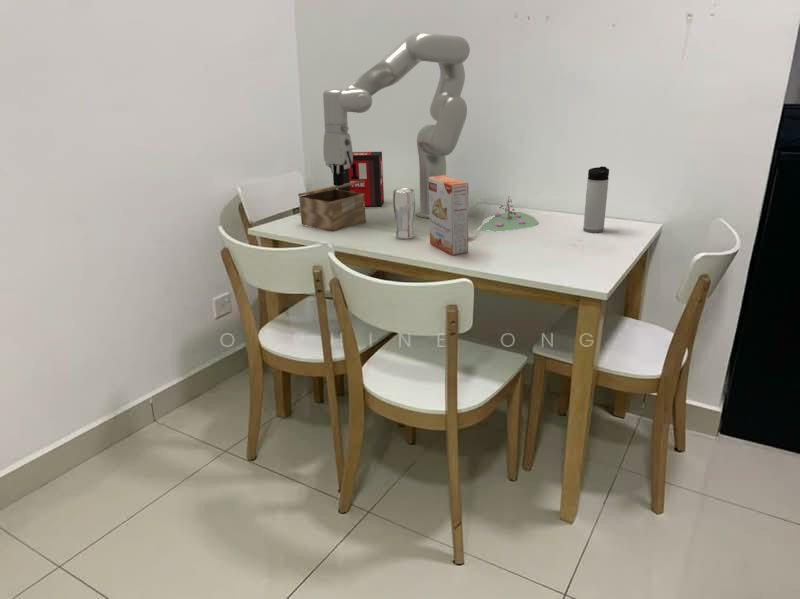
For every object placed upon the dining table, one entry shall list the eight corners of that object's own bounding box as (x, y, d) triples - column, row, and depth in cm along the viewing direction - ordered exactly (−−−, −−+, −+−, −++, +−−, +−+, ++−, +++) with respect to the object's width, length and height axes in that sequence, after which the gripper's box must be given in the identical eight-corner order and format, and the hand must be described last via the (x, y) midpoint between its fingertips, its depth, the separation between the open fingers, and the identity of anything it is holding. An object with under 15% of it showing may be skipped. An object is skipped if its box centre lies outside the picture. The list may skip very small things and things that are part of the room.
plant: (515, 238, 193) (516, 210, 190) (459, 229, 204) (459, 203, 201) (547, 220, 212) (548, 194, 208) (494, 213, 223) (495, 189, 220)
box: (366, 221, 215) (364, 193, 212) (332, 231, 205) (330, 202, 201) (335, 215, 226) (333, 188, 222) (301, 224, 215) (299, 196, 211)
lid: (363, 182, 211) (363, 180, 210) (328, 190, 199) (327, 188, 199) (333, 188, 222) (333, 185, 222) (298, 196, 211) (297, 193, 211)
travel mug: (607, 229, 196) (613, 167, 189) (597, 234, 192) (603, 170, 185) (589, 226, 200) (594, 165, 193) (579, 231, 196) (584, 168, 189)
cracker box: (428, 244, 188) (427, 176, 180) (445, 241, 190) (445, 174, 182) (450, 256, 176) (450, 184, 168) (468, 253, 178) (469, 181, 171)
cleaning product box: (339, 208, 237) (335, 155, 229) (343, 202, 245) (340, 152, 238) (381, 207, 235) (378, 155, 228) (384, 202, 243) (381, 151, 236)
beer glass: (391, 238, 195) (389, 192, 189) (398, 233, 201) (397, 187, 195) (411, 240, 192) (410, 193, 187) (418, 234, 198) (417, 188, 193)
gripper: (360, 129, 198) (362, 186, 204) (329, 126, 207) (331, 180, 214) (343, 131, 192) (346, 189, 199) (312, 128, 202) (315, 183, 208)
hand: (338, 184), depth 206 cm, fingers closed
